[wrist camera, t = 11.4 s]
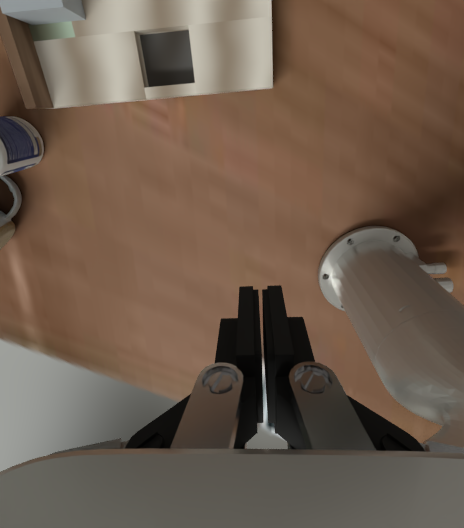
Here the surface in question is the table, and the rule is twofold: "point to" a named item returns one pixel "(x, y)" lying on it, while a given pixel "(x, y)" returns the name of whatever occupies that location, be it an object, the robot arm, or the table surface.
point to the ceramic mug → (3, 227)
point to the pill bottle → (18, 145)
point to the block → (43, 10)
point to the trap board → (142, 52)
